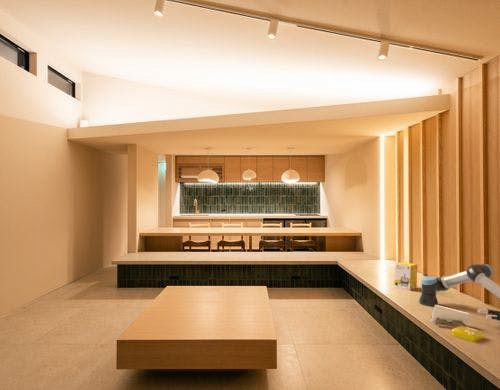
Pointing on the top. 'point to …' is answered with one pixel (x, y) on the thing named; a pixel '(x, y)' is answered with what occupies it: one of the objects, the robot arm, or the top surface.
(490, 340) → the top surface
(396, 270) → the packaging box
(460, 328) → the element tile
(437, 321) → the hinge board
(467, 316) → the shelf bracket
